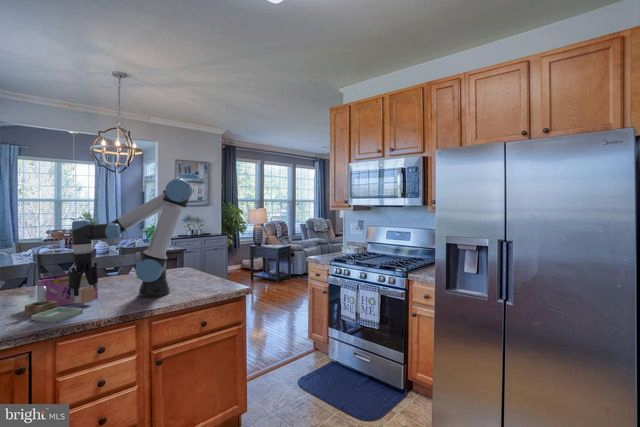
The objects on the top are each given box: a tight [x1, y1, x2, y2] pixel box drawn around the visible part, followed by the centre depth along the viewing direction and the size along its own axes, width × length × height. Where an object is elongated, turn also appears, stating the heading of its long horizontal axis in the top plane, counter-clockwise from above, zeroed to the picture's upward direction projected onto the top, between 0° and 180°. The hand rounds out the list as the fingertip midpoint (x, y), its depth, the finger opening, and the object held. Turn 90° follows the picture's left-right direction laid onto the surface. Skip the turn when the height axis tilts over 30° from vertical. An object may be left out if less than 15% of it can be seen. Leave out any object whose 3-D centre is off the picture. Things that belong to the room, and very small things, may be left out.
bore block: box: [24, 301, 59, 317], centre depth 147 cm, size 8×8×4 cm
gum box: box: [37, 272, 99, 307], centre depth 163 cm, size 24×8×14 cm, turn 143°
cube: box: [72, 287, 96, 304], centre depth 158 cm, size 6×6×6 cm
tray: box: [30, 306, 84, 323], centre depth 143 cm, size 13×13×2 cm
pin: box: [36, 286, 46, 305], centre depth 147 cm, size 3×3×12 cm
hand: (84, 300), depth 158 cm, fingers closed on cube, 6 cm apart
